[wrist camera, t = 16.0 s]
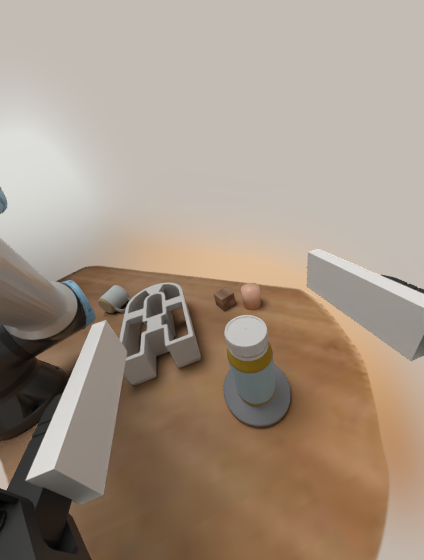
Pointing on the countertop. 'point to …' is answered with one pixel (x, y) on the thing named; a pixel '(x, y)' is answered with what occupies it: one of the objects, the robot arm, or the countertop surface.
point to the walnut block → (224, 299)
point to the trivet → (259, 413)
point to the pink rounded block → (251, 296)
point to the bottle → (250, 359)
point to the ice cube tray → (156, 332)
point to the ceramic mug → (114, 299)
